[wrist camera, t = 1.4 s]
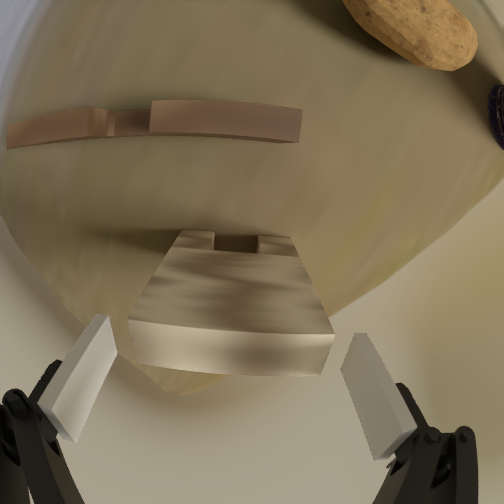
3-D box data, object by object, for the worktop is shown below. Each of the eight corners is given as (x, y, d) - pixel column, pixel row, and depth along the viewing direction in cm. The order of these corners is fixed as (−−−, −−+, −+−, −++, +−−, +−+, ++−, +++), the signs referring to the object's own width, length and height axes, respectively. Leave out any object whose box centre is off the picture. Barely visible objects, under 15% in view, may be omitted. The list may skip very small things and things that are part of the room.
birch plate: (182, 258, 26) (136, 362, 13) (182, 229, 25) (127, 319, 12) (285, 267, 26) (320, 375, 14) (290, 237, 25) (335, 334, 12)
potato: (331, -27, 15) (356, -66, 7) (442, 28, 16) (484, 13, 9) (318, 38, 18) (348, 2, 11) (438, 94, 20) (489, 89, 12)
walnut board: (60, 123, 20) (8, 125, 12) (282, 121, 21) (302, 109, 14) (59, 142, 21) (6, 149, 13) (280, 143, 22) (298, 142, 15)
